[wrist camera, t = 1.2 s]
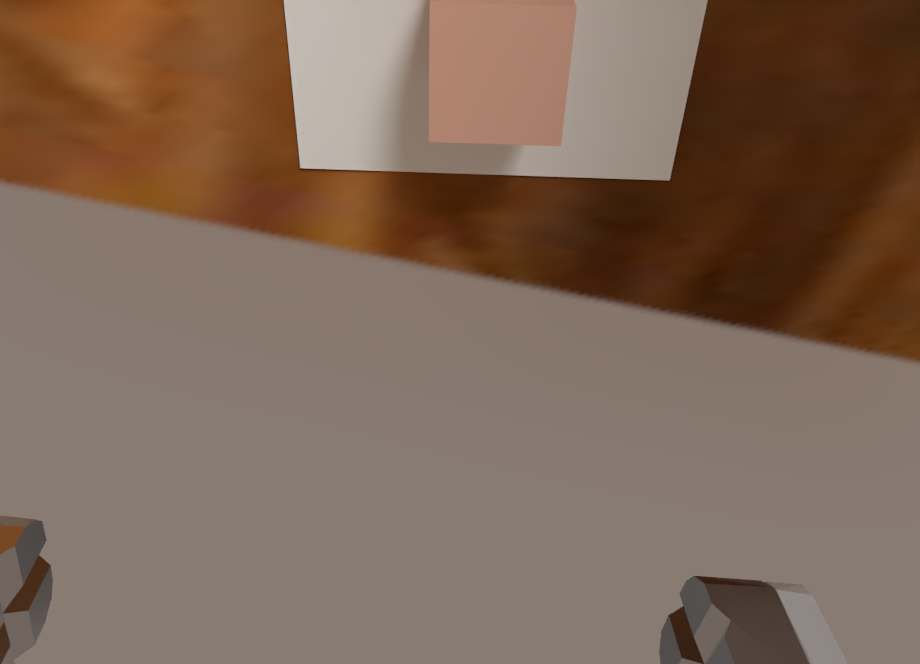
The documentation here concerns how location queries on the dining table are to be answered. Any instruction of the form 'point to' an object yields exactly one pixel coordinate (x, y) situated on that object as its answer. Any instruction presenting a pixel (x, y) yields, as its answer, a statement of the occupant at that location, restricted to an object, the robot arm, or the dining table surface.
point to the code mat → (408, 148)
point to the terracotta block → (499, 70)
